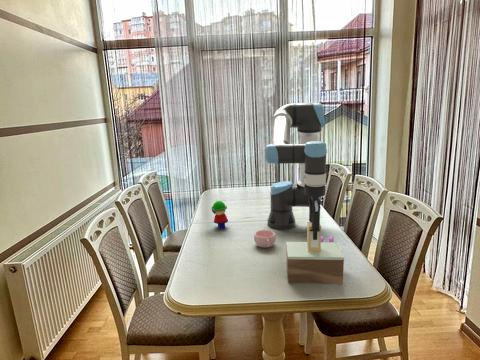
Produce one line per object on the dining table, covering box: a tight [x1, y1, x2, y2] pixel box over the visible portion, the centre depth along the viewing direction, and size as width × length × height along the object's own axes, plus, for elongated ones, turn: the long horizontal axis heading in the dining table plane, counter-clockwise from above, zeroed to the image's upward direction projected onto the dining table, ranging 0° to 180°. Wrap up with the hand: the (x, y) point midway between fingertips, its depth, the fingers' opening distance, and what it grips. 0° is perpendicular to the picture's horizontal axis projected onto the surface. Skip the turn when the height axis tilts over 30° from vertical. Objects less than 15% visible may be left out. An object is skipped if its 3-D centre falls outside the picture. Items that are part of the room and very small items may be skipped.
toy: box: [211, 200, 229, 230], centre depth 180 cm, size 9×9×15 cm
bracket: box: [321, 235, 334, 242], centre depth 145 cm, size 13×6×7 cm, turn 177°
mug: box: [253, 229, 277, 249], centre depth 156 cm, size 12×10×6 cm
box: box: [286, 255, 345, 285], centre depth 129 cm, size 13×20×10 cm, turn 84°
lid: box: [286, 221, 345, 261], centre depth 127 cm, size 13×20×12 cm, turn 84°
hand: (313, 243), depth 128 cm, fingers closed on lid, 4 cm apart
